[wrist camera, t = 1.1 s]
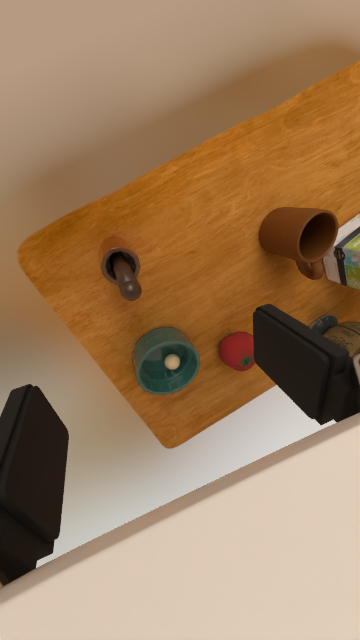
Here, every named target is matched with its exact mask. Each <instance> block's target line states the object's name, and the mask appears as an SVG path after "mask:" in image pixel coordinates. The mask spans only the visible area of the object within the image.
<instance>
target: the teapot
mask: <svg viewBox="0 0 360 640" xmlns="http://www.w3.org/2000/svg"><path fill="white" fill-rule="evenodd" d="M310 328H311V329H313V330H315V331H316V332H318V333H320V334H321V335H323V336H325V337H326V338H328V339H330V340H331V341H333V342H335V343H336V344H338V345H340V346H341V347H343V348H345V349H346V350H348V351H350V353H349V356H350V357H352V358H354V357H355V356H356V355H357V354H359V353H360V322H343V323H340V324H338V321H337V318H336V317H335V316H334V315H330V314H326V315H323V316H321V317H319V318H318V319H316V320H315V321H314V322H313V323H312V324H311V326H310Z"/></svg>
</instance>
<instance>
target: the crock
mask: <svg viewBox="0 0 360 640" xmlns="http://www.w3.org/2000/svg"><path fill="white" fill-rule="evenodd" d="M120 251H122V253H123V255H124V257H125V259H126V260H127V262H128V264H129V266H130V268H131V270H132V271H133V273H134V275H135V277H137V276H138V274H139V270H140V263H139V259H138V257H137V255H136V254H135V253H134V251H133V250H132V249H131V247H130V246H129V245H128V244H127V243H126V242H125V241H124V240H123V239H122V238H119V237H115V236H112V237H108V238H106V239H105V240H104V241H103V242H102V243H101V245H100V250H99V255H100V263H101V269H102V271H103V274H104V276H105V277H106V278H107V279H108V280H109V281H110V282H111V283H115V284H118V282H117V278H116V275H115V272H114V268H113V265H112V262H111V258H110V255H111V254H112V253H115V252H120Z"/></svg>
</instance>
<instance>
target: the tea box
mask: <svg viewBox="0 0 360 640" xmlns="http://www.w3.org/2000/svg"><path fill="white" fill-rule="evenodd" d="M323 261H324V266H325V270H326V275H327V279H329V280H331V281H334V282H337V283H340V284H342V285H345V286H348V287H351V288H354V289H357V290H360V213H359V214H358V215H357V216H355V217H354V218H353V219H351V220H350V221H349V222H347V223H346V224H345V225H343V226H342V227H340V228H339V229H338V234H337V238H336V241H335V243H334V245H333V247H332V248H331V250H330V251H329V252H328V253H327V254H326V255H325V256H324V257H323Z"/></svg>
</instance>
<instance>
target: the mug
mask: <svg viewBox="0 0 360 640" xmlns="http://www.w3.org/2000/svg"><path fill="white" fill-rule="evenodd" d="M337 234H338V221H337V218H336V216H335V215H334V214H333V213H332V212H330V211H328V210H322V209H314V208H291V207H282V208H277V209H275V210H273V211H272V212H270V213H269V214H268V215H267V216H266V218H265V219H264V221H263V223H262V225H261V228H260V242H261V244H262V246H263V247H264V248H265V249H266V250H267V251H269V252H272V253H275V254H278V255H281V256H284V257H287V258H290V259H294V260H295V261H296V264H297V267H298V269H299V270H300V272H301V273H302V274H303V275H304V276H306V277H307V278H309V279H312V280H317V279H319V278H321V277H322V276H323V273H324V266H323V264H322V262H321V260H320V259H322V258H323V257H324V256H325V255H326V254H327V253H328V252H329V251H330V250H331V248H332V247H333V245H334V243H335V241H336V238H337ZM308 263H309V264H310V266H311V267H310V266H309V265H308Z"/></svg>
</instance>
